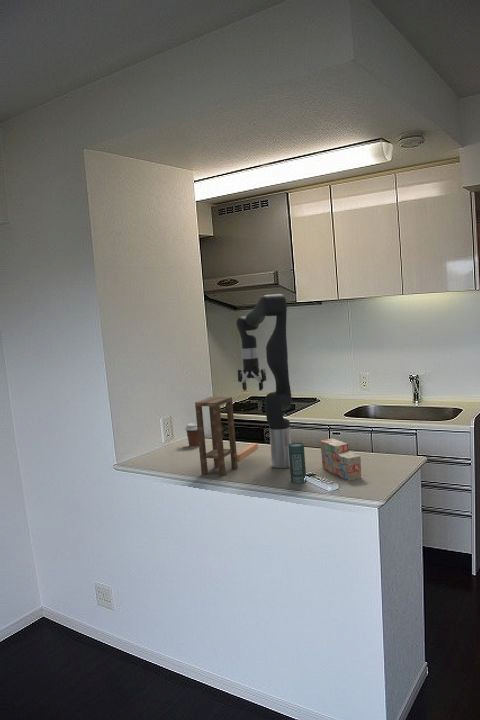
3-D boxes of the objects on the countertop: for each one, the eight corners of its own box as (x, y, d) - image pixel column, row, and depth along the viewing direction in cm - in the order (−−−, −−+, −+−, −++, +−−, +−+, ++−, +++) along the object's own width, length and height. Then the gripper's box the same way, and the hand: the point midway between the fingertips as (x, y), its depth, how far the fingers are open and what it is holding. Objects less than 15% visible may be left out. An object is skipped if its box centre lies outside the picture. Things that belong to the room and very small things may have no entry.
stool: (237, 467, 253) (231, 397, 250) (223, 476, 242) (217, 402, 238) (216, 466, 258) (210, 396, 255) (201, 474, 247) (195, 402, 243)
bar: (252, 449, 284) (252, 443, 284) (258, 449, 283) (257, 443, 282) (234, 461, 265) (233, 454, 265) (239, 461, 264) (239, 455, 264)
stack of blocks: (362, 478, 225) (360, 448, 224) (348, 481, 223) (346, 451, 222) (334, 465, 245) (332, 437, 244) (322, 468, 243) (320, 440, 242)
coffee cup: (204, 447, 293) (202, 424, 292) (187, 449, 292) (185, 426, 291) (203, 443, 302) (201, 421, 301) (186, 445, 301) (184, 423, 300)
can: (306, 478, 230) (303, 442, 229) (306, 483, 224) (303, 446, 223) (291, 478, 231) (288, 442, 230) (290, 483, 225) (288, 446, 224)
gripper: (266, 355, 274) (269, 389, 276) (240, 356, 281) (243, 389, 282) (260, 357, 267) (262, 391, 269) (233, 358, 274) (236, 391, 276)
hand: (252, 390), depth 276 cm, fingers open, 8 cm apart
